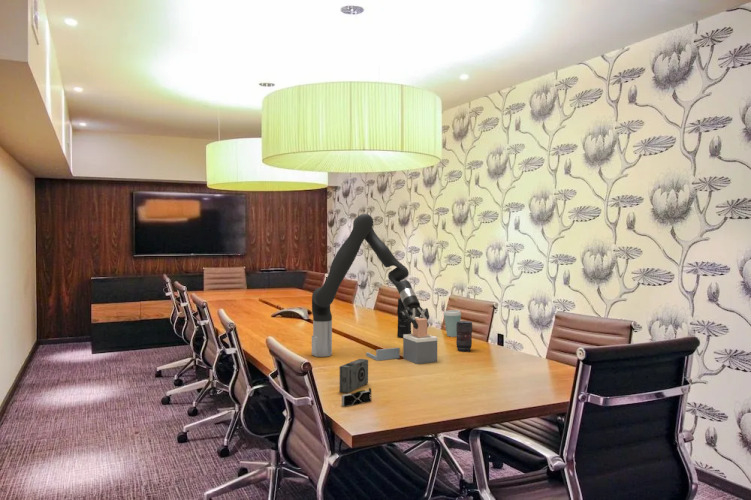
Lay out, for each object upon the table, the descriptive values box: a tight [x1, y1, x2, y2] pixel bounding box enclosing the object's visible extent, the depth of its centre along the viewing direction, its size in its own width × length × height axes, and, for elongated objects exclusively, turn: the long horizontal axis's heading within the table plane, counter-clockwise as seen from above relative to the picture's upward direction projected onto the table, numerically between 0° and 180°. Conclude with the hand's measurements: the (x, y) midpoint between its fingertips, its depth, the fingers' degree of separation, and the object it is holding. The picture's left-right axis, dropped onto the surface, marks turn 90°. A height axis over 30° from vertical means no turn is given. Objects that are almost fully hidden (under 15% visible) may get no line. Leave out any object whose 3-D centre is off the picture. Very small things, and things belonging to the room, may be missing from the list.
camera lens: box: [455, 320, 473, 353], centre depth 277 cm, size 8×8×15 cm
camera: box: [339, 358, 369, 394], centre depth 207 cm, size 16×4×10 cm, turn 151°
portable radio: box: [396, 297, 412, 339], centre depth 314 cm, size 8×6×25 cm
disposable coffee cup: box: [443, 309, 462, 338], centre depth 319 cm, size 11×11×15 cm
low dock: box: [365, 347, 401, 362], centre depth 262 cm, size 12×12×5 cm
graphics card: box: [341, 387, 372, 407], centre depth 188 cm, size 12×3×5 cm, turn 124°
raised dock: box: [402, 333, 438, 365], centre depth 255 cm, size 11×13×12 cm
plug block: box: [412, 317, 428, 337], centre depth 255 cm, size 5×5×8 cm
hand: (422, 327), depth 253 cm, fingers closed on plug block, 5 cm apart
